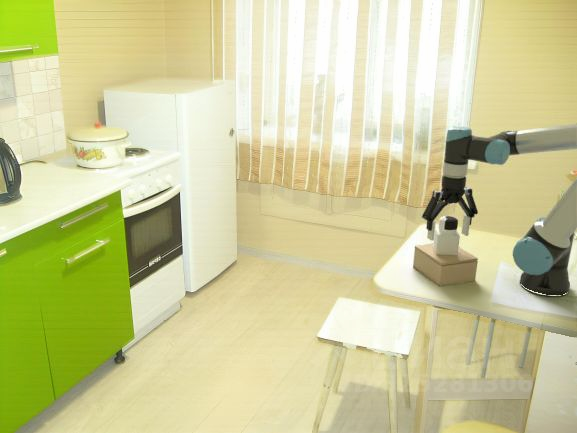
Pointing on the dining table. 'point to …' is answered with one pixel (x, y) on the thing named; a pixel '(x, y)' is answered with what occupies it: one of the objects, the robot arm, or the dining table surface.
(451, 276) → the box
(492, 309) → the dining table surface
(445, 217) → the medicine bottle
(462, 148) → the robot arm
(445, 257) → the lid
